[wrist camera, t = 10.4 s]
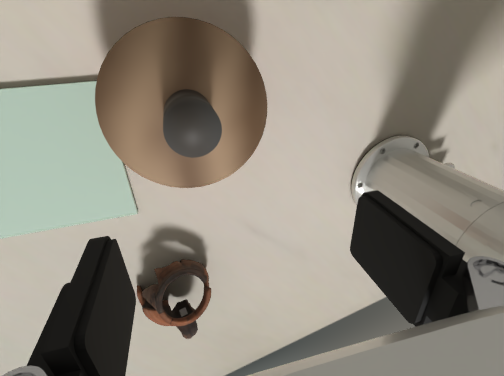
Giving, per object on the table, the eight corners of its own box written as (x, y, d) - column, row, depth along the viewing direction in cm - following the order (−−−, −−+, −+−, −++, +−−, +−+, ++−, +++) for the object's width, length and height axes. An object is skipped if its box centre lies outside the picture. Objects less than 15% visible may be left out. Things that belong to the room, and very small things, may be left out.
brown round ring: (119, 273, 38) (133, 294, 31) (179, 236, 43) (203, 247, 36) (158, 338, 41) (179, 370, 34) (210, 297, 46) (237, 317, 39)
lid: (261, 13, 22) (289, 5, 17) (266, 171, 29) (287, 198, 24) (69, 22, 19) (35, 16, 14) (125, 195, 26) (115, 232, 21)
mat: (99, 80, 26) (97, 81, 26) (138, 211, 34) (137, 213, 33) (-94, 96, 23) (-99, 97, 23) (-5, 237, 31) (-7, 239, 30)
